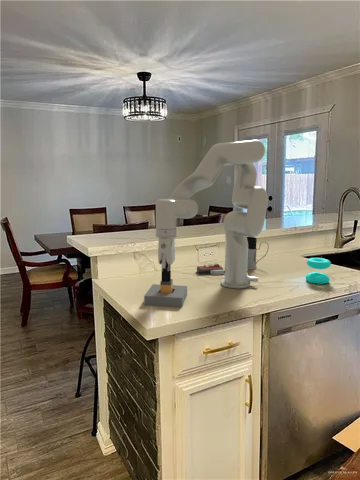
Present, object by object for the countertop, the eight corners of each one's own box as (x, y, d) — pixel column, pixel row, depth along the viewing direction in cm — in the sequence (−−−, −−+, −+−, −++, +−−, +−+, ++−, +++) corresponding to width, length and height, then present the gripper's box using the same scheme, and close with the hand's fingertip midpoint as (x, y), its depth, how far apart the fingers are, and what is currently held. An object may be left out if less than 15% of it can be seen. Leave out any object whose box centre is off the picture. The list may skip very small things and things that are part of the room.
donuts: (302, 258, 163) (317, 256, 168) (300, 280, 165) (315, 277, 170) (320, 263, 155) (336, 260, 160) (319, 286, 156) (334, 282, 162)
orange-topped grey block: (172, 296, 142) (172, 279, 140) (171, 300, 138) (170, 282, 136) (162, 296, 142) (162, 278, 141) (160, 299, 138) (160, 281, 137)
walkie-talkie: (199, 276, 171) (239, 274, 175) (199, 267, 170) (239, 265, 175) (194, 271, 180) (232, 269, 184) (194, 263, 179) (233, 260, 183)
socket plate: (187, 294, 146) (187, 285, 145) (182, 307, 132) (182, 297, 132) (152, 292, 148) (152, 284, 147) (144, 305, 134) (144, 295, 134)
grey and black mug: (240, 264, 193) (241, 236, 190) (268, 266, 188) (269, 237, 185) (237, 268, 185) (238, 239, 182) (266, 270, 180) (267, 240, 177)
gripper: (172, 236, 127) (172, 287, 131) (179, 230, 142) (178, 275, 145) (151, 236, 128) (152, 286, 132) (160, 229, 143) (160, 274, 146)
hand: (166, 280), depth 138 cm, fingers closed
